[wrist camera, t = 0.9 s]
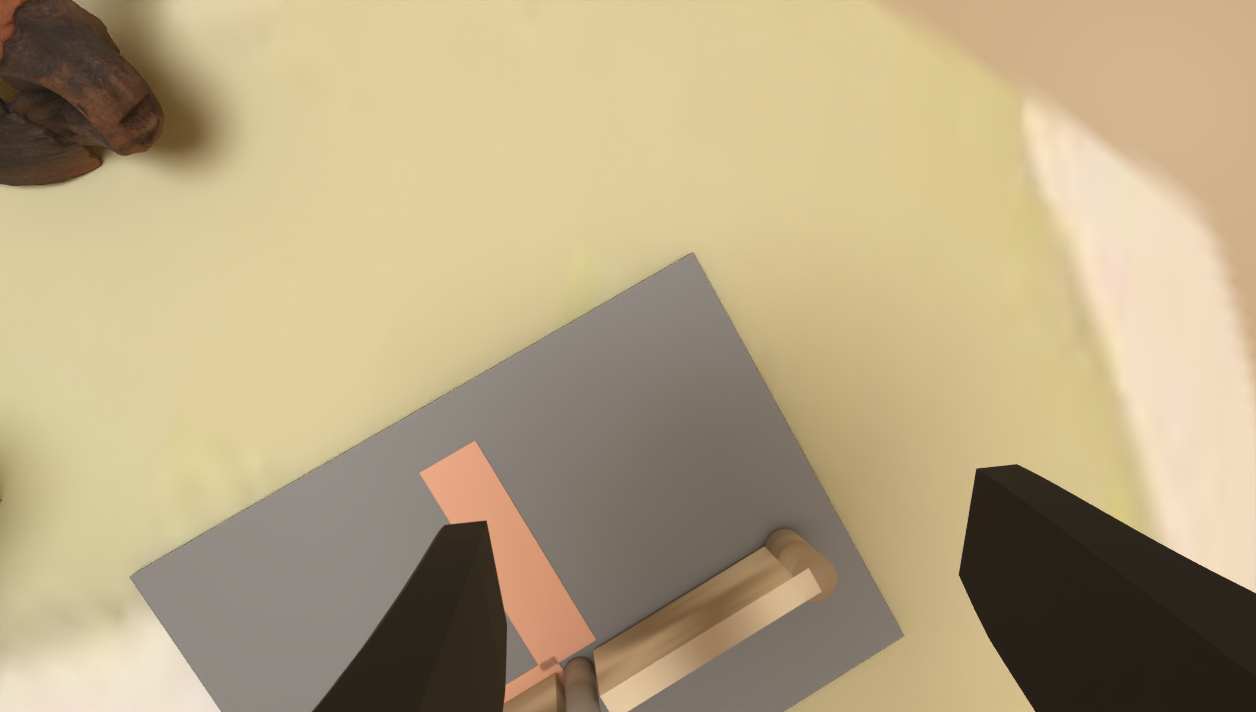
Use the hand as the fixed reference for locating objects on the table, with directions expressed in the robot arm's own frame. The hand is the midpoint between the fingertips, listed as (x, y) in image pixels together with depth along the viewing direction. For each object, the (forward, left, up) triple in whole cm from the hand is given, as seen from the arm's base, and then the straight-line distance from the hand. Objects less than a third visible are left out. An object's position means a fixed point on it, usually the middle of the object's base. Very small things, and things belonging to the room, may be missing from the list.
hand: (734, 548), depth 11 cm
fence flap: (-9, +1, -18) cm, 20 cm away
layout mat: (-6, +7, -19) cm, 21 cm away
